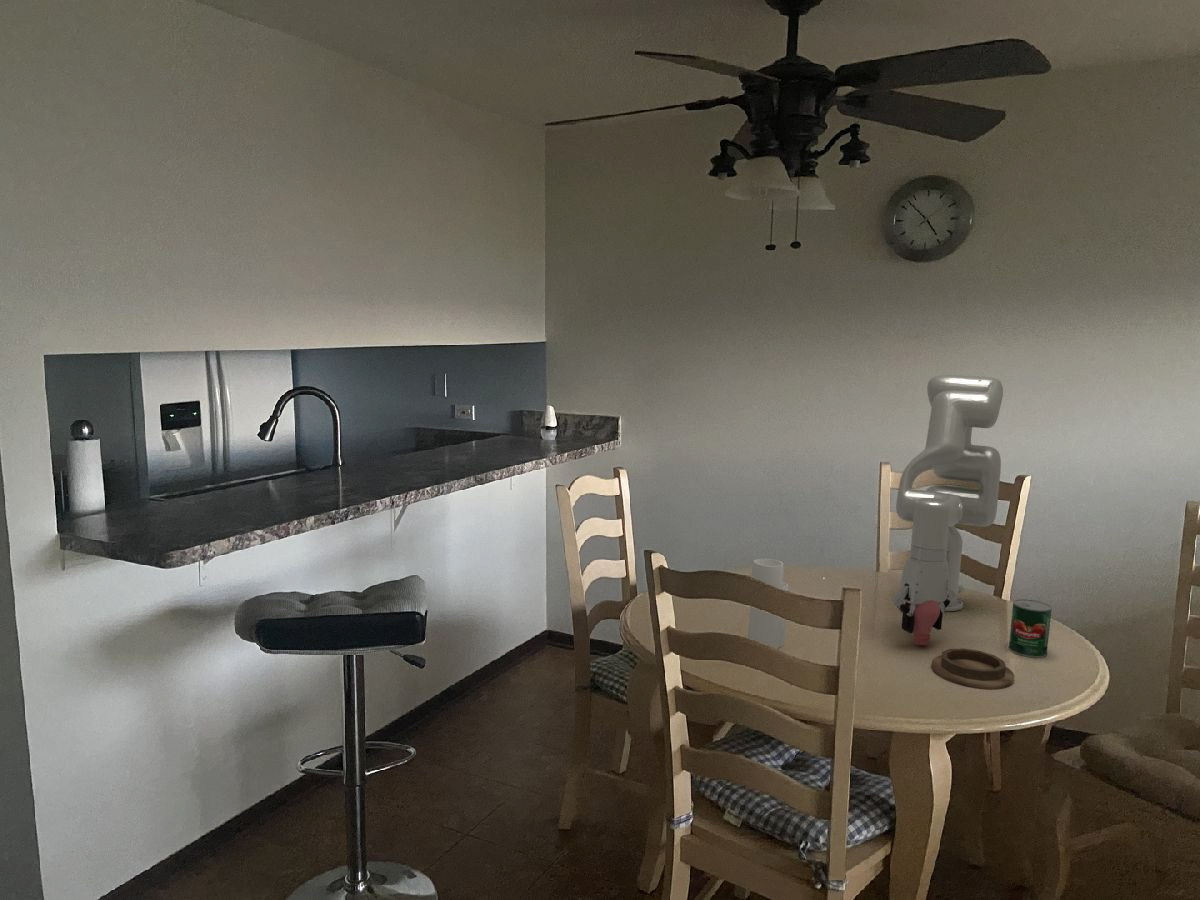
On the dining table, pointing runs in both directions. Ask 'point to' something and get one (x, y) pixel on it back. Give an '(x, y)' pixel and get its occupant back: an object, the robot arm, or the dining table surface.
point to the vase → (761, 622)
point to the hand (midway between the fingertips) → (921, 628)
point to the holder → (973, 669)
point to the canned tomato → (1030, 628)
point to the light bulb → (924, 621)
